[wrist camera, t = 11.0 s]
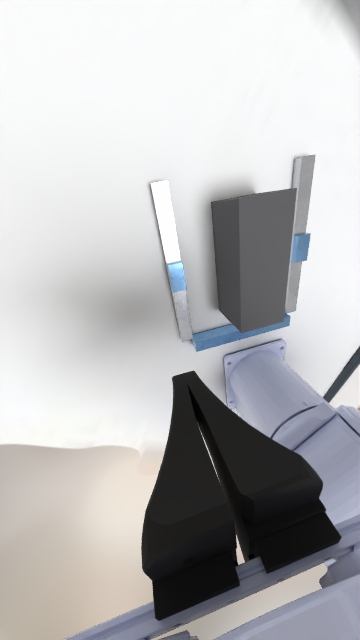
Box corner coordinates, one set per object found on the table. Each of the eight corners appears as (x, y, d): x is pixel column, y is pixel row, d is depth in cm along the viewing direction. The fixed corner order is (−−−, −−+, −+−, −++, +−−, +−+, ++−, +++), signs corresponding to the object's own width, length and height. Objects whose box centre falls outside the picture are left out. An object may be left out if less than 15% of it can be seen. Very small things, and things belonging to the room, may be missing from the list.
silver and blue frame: (375, 293, 26) (389, 297, 24) (182, 346, 23) (185, 354, 21) (427, 135, 18) (450, 129, 17) (150, 184, 15) (152, 182, 14)
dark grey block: (253, 300, 22) (283, 321, 18) (218, 309, 22) (241, 333, 18) (254, 193, 17) (296, 187, 13) (210, 202, 17) (238, 199, 13)
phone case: (345, 407, 39) (405, 335, 32) (353, 415, 37) (418, 341, 31) (309, 408, 36) (367, 329, 29) (317, 416, 34) (379, 335, 28)
